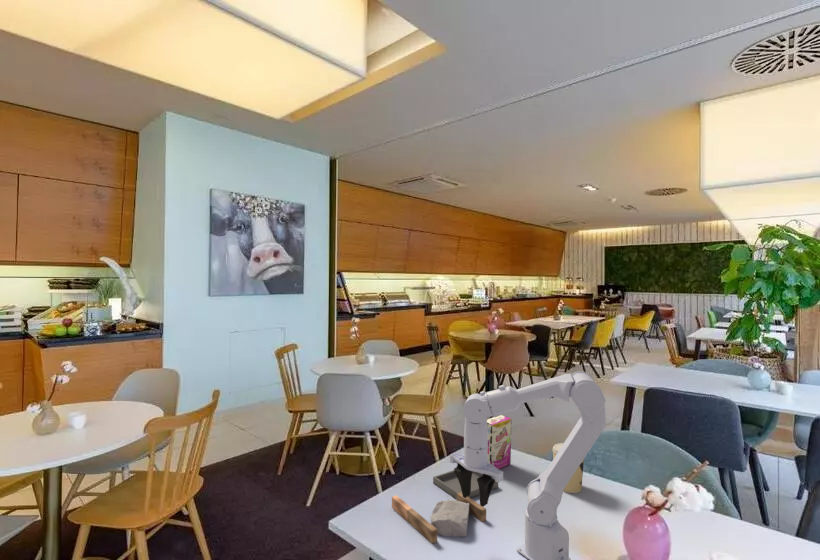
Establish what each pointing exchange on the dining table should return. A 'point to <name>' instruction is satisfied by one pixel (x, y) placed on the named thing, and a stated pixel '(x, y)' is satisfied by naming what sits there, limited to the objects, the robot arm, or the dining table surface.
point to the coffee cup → (576, 479)
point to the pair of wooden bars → (423, 524)
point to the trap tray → (458, 484)
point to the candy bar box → (499, 441)
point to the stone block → (451, 518)
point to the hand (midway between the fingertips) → (475, 500)
